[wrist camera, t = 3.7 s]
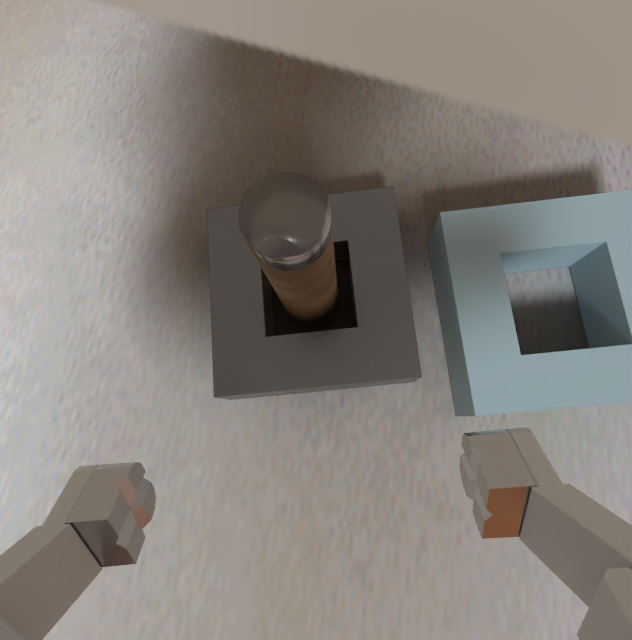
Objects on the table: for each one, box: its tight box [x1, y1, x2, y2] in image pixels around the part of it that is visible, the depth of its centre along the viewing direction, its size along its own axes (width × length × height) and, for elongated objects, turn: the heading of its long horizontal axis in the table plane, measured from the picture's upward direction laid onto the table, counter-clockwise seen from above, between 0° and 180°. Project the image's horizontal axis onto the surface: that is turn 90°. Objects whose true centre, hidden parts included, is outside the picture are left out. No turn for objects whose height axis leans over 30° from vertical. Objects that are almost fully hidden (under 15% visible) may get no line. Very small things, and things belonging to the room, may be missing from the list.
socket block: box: [207, 187, 422, 400], centre depth 23 cm, size 10×10×3 cm
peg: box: [238, 172, 339, 329], centre depth 19 cm, size 3×3×11 cm
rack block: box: [427, 190, 632, 416], centre depth 22 cm, size 10×10×4 cm
